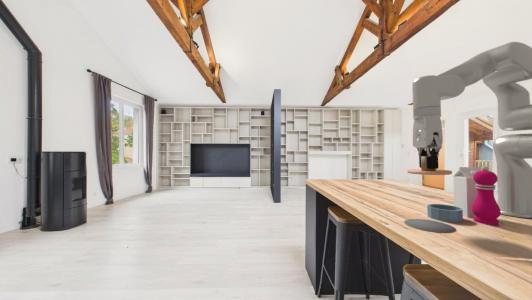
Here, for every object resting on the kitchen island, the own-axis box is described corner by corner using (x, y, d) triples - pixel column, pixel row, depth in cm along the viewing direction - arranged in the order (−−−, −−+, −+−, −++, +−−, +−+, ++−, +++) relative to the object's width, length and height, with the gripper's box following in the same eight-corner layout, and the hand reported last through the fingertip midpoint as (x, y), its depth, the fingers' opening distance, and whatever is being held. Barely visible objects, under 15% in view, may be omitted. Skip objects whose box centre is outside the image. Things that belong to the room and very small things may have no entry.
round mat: (440, 221, 78) (440, 220, 79) (467, 236, 65) (467, 234, 65) (397, 219, 81) (397, 218, 81) (415, 233, 68) (415, 231, 68)
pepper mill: (507, 227, 71) (506, 166, 72) (481, 226, 73) (480, 166, 73) (489, 220, 79) (488, 165, 79) (466, 219, 80) (465, 165, 80)
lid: (438, 171, 78) (438, 155, 78) (461, 174, 66) (460, 156, 66) (401, 171, 80) (401, 156, 80) (417, 175, 69) (416, 157, 69)
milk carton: (453, 213, 88) (452, 166, 89) (473, 213, 87) (472, 166, 88) (467, 218, 81) (466, 167, 82) (489, 219, 80) (487, 167, 81)
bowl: (451, 216, 85) (451, 204, 85) (470, 224, 75) (469, 211, 75) (422, 214, 87) (422, 203, 87) (437, 222, 77) (436, 210, 77)
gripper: (403, 118, 82) (405, 166, 82) (427, 110, 66) (429, 170, 66) (426, 116, 81) (427, 166, 81) (455, 108, 65) (457, 170, 64)
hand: (428, 167), depth 73 cm, fingers closed on lid, 4 cm apart
